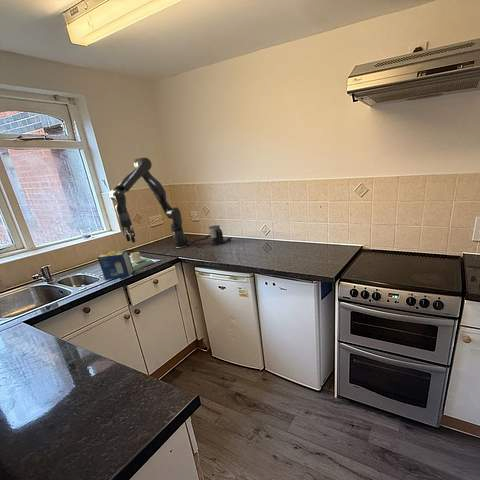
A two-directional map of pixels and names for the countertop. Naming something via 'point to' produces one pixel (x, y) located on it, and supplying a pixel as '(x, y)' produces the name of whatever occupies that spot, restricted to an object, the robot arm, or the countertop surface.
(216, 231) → the milk frother
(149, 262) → the scale
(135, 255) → the beige cup
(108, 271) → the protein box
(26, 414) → the countertop surface
